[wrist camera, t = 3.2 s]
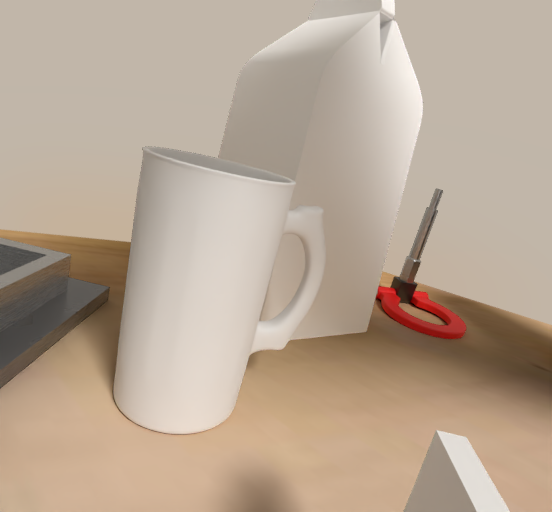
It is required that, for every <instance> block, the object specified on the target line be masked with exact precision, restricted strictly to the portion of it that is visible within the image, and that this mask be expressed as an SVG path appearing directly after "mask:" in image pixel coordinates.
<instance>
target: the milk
mask: <svg viewBox="0 0 552 512" xmlns="http://www.w3.org/2000/svg"><path fill="white" fill-rule="evenodd" d="M394 16H395V2H394V0H316V2H315V4H314V7H313V9H312V11H311V13H310V15H309V18H308V21H307V22H305V23H303V24H302V25H300V26H299V27H297V28H295V29H294V30H292V31H291V32H289V33H288V34H286V35H285V36H283V37H282V38H280V39H278V40H277V41H275V42H274V43H272V44H271V45H269V46H267V47H266V48H264V49H263V50H261V51H260V52H258V53H257V54H256V55H254V56H253V57H252V58H251V59H250V60H249V61H248V62H247V63H246V64H245V65H244V67H243V68H242V70H241V72H240V74H239V77H238V80H237V83H236V88H235V92H234V96H233V100H232V104H231V108H230V112H229V116H228V120H227V124H226V128H225V132H224V136H223V140H222V144H221V148H220V152H219V156H218V158H219V159H224V160H228V161H232V162H236V163H240V164H244V165H248V166H252V167H255V168H259V169H262V170H266V171H269V172H272V173H275V174H278V175H281V176H284V177H287V178H289V179H291V180H293V181H295V182H296V185H295V186H294V189H293V193H292V197H291V201H290V206H289V210H294V209H295V208H296V207H297V206H299V205H304V206H318V207H321V208H322V209H323V210H324V214H323V230H324V237H325V248H326V261H325V269H324V274H323V278H322V282H321V285H320V288H319V290H318V293H317V295H316V297H315V299H314V301H313V303H312V305H311V307H310V309H309V310H308V312H307V314H306V315H305V317H304V318H303V320H302V321H301V323H300V324H299V326H298V327H297V329H296V331H295V332H294V334H293V335H292V337H291V338H290V340H296V339H305V338H315V337H324V336H333V335H343V334H352V333H361V332H367V329H368V325H369V321H370V317H371V313H372V309H373V306H374V302H375V298H376V294H377V290H378V286H379V283H380V279H381V275H382V271H383V267H384V263H385V259H386V255H387V251H388V248H389V244H390V240H391V236H392V232H393V228H394V225H395V221H396V217H397V213H398V209H399V205H400V201H401V197H402V194H403V190H404V186H405V182H406V178H407V175H408V170H409V167H410V163H411V159H412V155H413V151H414V148H415V144H416V140H417V135H418V132H419V128H420V125H421V120H422V114H423V101H422V96H421V91H420V87H419V84H418V81H417V78H416V75H415V73H414V70H413V67H412V64H411V61H410V59H409V56H408V53H407V50H406V48H405V45H404V42H403V39H402V36H401V33H400V31H399V28H398V25H397V22H396V21H395V20H394ZM304 270H305V251H304V247H303V244H302V242H301V240H300V238H299V237H298V236H297V235H295V234H284V235H282V237H281V241H280V244H279V248H278V252H277V255H276V259H275V263H274V266H273V270H272V274H271V277H270V281H269V285H268V288H267V292H266V296H265V299H264V303H263V307H262V310H261V314H260V318H259V321H268V320H271V319H273V318H274V317H276V316H277V315H278V314H279V313H281V312H282V311H283V310H284V309H285V308H286V307H287V305H288V304H289V303H290V301H291V300H292V298H293V297H294V295H295V293H296V291H297V289H298V287H299V285H300V283H301V280H302V277H303V274H304Z"/></svg>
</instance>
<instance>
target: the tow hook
mask: <svg viewBox="0 0 552 512" xmlns="http://www.w3.org/2000/svg"><path fill="white" fill-rule="evenodd" d="M442 193H443V190H440V189H436V190H435V193H434V195H433V198H432V200H431V203H430V206H429V207H427V208H426V211H425V214H424V216H423V219H422V222H421V225H420V227H419V230H418V233H417V236H416V238H415V241H414V244H413V247H412V249H411V252H410V255H409V256H407V258H406V260H405V263H404V266H403V269H402V272H401V274H400V277H394V279H393V282H392V285H391V287H390V288H389V287H381V286H378V290H377V294H376V298H375V299H380V300H381V301H382V302H381V305H382V308H383V309H384V311H385V312H386V313H387V314H388V315H389V316H390V317H391V318H393V319H394V320H396V321H397V322H399V323H400V324H402V325H404V326H406V327H408V328H411V329H413V330H416V331H418V332H421V333H424V334H427V335H431V336H434V337H439V338H444V339H458V338H461V337H462V336H464V333H465V331H466V325H465V323H464V322H463V320H462V319H461V318H460V317H459V316H457V315H456V314H455V313H453V312H452V311H450V310H448V309H447V308H445V307H443V306H441V305H439V304H437V303H435V302H433V301H431V300H430V299H428V294H427V293H426V292H421V291H415V289H416V287H417V284H416V283H415V282H414V279H415V276H416V273H417V271H418V268H419V266H420V262H421V261H420V258H421V255H422V252H423V250H424V247H425V244H426V242H427V239H428V236H429V234H430V231H431V228H432V226H433V223H434V220H435V218H436V215H437V212H438V210H436V209H437V206H438V204H439V201H440V198H441V195H442ZM399 302H401V303H409V302H410V303H413V304H414V305H415V306H417V307H419V308H422V309H425V310H428V311H430V312H432V313H434V314H436V315H437V316H439V317H441V318H442V319H443V320H444V321H445V322H446V323H447V324H448V325H437V324H432V323H429V322H425V321H423V320H420V319H418V318H415V317H413V316H412V315H410V314H408V313H406V312H405V311H403V310H402V309H401V308H400V307H399V306H398V305H399Z"/></svg>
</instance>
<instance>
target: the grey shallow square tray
mask: <svg viewBox="0 0 552 512" xmlns="http://www.w3.org/2000/svg"><path fill="white" fill-rule="evenodd" d="M70 260H71V255H70V254H66V253H62V252H58V251H54V250H49V249H45V248H41V247H37V246H33V245H29V244H24V243H20V242H16V241H12V240H8V239H4V238H0V388H1V387H2V386H3V385H5V384H6V383H7V382H8V381H10V380H11V379H12V378H13V377H14V376H16V375H17V374H18V373H19V372H20V371H22V370H23V369H24V368H25V367H27V366H28V365H29V364H30V363H31V362H33V361H34V360H35V359H36V358H38V357H39V356H40V355H41V354H42V353H44V352H45V351H46V350H47V349H49V348H50V347H51V346H52V345H53V344H55V343H56V342H57V341H58V340H60V339H61V338H62V337H63V336H64V335H66V334H67V333H68V332H69V331H71V330H72V329H73V328H74V327H75V326H77V325H78V324H79V323H80V322H82V321H83V320H84V319H85V318H86V317H88V316H89V315H90V314H91V313H92V312H94V311H95V310H96V309H97V308H99V307H100V306H101V305H102V304H103V303H105V302H106V301H107V300H108V295H109V288H110V287H107V286H103V285H99V284H94V283H90V282H86V281H82V280H78V279H74V278H69V269H70Z"/></svg>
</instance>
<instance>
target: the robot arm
mask: <svg viewBox="0 0 552 512" xmlns="http://www.w3.org/2000/svg"><path fill="white" fill-rule="evenodd" d="M404 512H510V511H509V509H508V507H507V506H506V504H505V502H504V501H503V499H502V497H501V495H500V494H499V492H498V490H497V489H496V487H495V485H494V484H493V482H492V480H491V478H490V477H489V475H488V473H487V472H486V470H485V468H484V467H483V465H482V463H481V461H480V460H479V458H478V456H477V455H476V453H475V451H474V450H473V448H472V446H471V444H470V443H469V441H468V439H467V438H466V437H463V436H459V435H455V434H451V433H446V432H442V431H438V430H436V432H435V434H434V437H433V439H432V442H431V444H430V447H429V449H428V452H427V454H426V457H425V459H424V462H423V464H422V467H421V469H420V472H419V474H418V477H417V479H416V482H415V484H414V487H413V489H412V492H411V494H410V497H409V499H408V502H407V504H406V507H405V509H404Z"/></svg>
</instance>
